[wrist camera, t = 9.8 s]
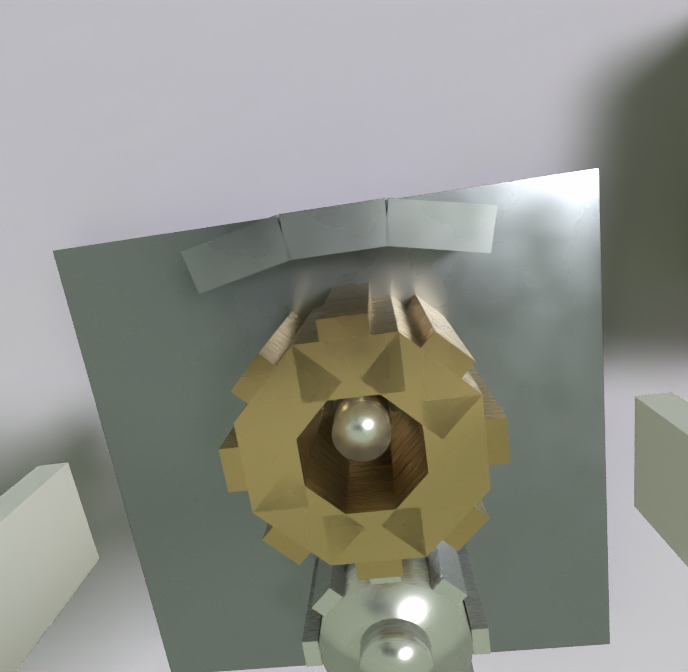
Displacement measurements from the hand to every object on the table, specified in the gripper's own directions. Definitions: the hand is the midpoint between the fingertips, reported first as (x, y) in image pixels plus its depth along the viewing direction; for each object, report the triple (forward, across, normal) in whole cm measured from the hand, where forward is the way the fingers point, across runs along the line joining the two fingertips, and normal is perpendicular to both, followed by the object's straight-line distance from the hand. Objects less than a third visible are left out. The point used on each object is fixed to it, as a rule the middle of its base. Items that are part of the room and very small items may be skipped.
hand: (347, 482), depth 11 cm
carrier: (+10, -1, -4) cm, 11 cm away
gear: (+8, 0, -1) cm, 9 cm away
